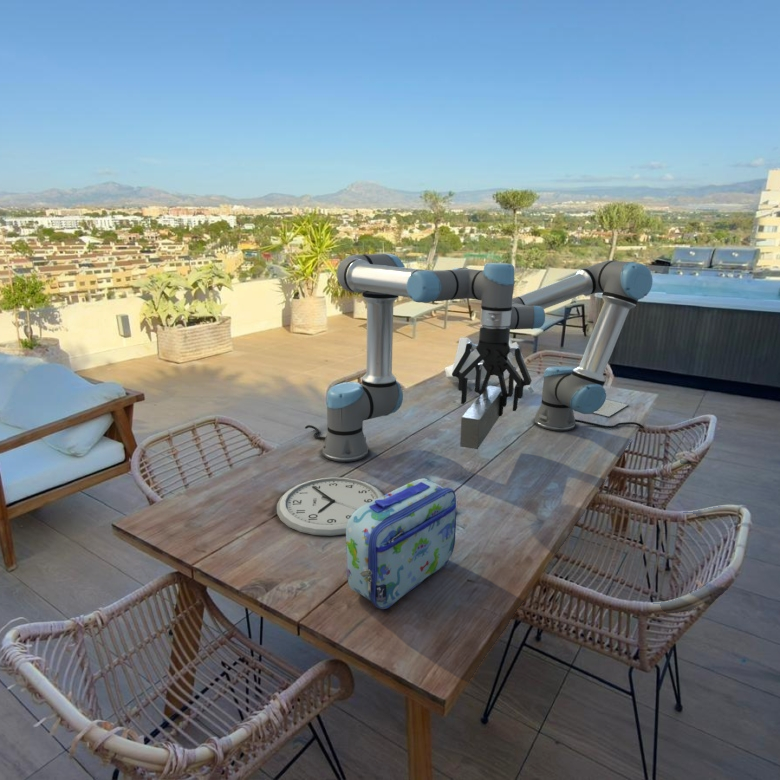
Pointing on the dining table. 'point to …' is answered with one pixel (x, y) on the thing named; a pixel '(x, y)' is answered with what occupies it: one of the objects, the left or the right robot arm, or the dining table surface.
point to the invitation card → (610, 408)
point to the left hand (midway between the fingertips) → (488, 406)
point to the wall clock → (324, 504)
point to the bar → (480, 418)
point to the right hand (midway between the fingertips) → (492, 413)
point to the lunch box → (400, 540)
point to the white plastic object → (472, 357)
